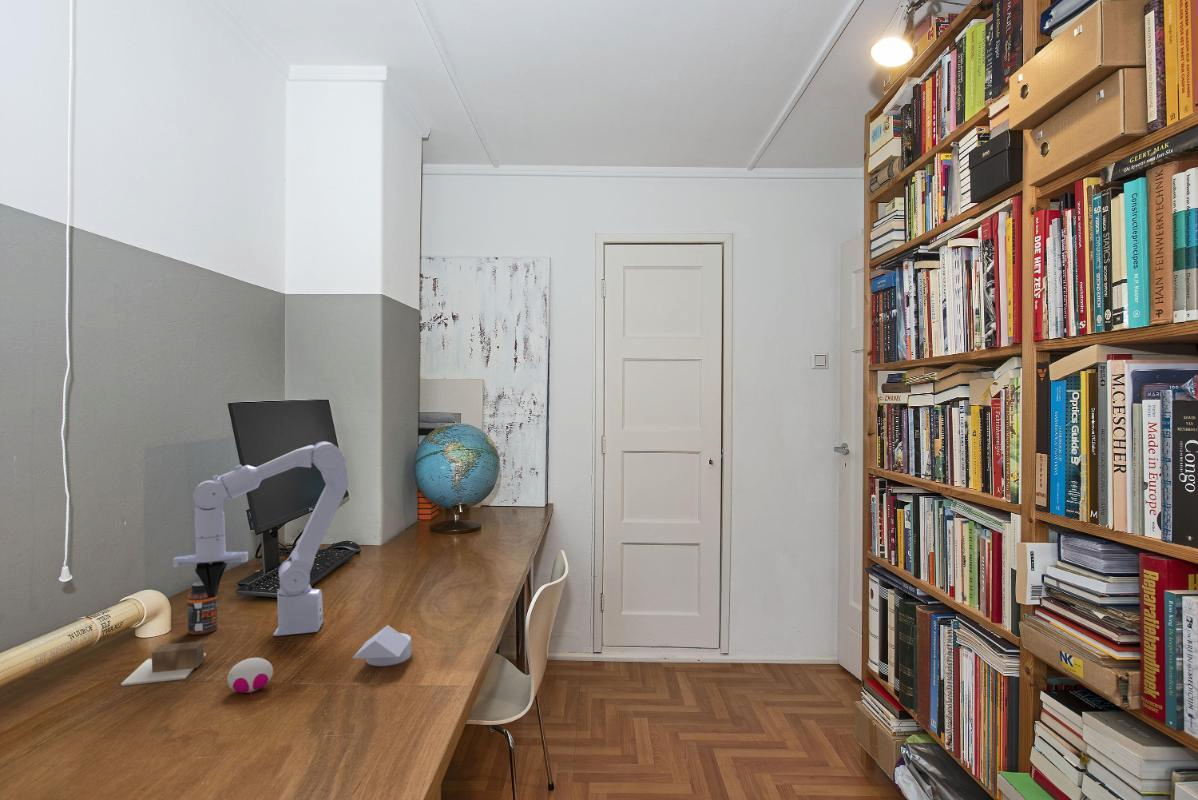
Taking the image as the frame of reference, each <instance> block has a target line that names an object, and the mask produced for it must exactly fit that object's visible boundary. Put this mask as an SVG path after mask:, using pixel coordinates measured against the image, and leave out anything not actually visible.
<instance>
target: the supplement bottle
mask: <svg viewBox="0 0 1198 800" xmlns="http://www.w3.org/2000/svg"><path fill="white" fill-rule="evenodd" d="M218 619H219V618H218V595H217V596H216V597H214V598H208V596H207V593H206V590H205V587H204V585H203V583H202V581H196V582H193V583H192V584H191V592H190V593H189V594H188V596H187V630H188V633H189V634H190V635H193V636H194V635H195V636H196V635H197V636H200V635H206V634H207V635H208V634H210V633H212V632H215V631H216V630H217V629H218V623H219V622H218Z"/></svg>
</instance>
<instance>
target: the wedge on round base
mask: <svg viewBox="0 0 1198 800" xmlns="http://www.w3.org/2000/svg"><path fill="white" fill-rule="evenodd" d="M411 656H412V638H411V635H408V634H407V633H403V632H399V631H397V630H396V629H394V628H393V627H392V626H390V625H389V624H387V625H386V626H385V627H383V628H382V629H381V630H379V631H377V633H376V634H374V635H373V636H372V637H371V638H369V639H368V640H367V641H365V642H364V644H363V645H362V646H361V647H360V649H359V650H358V651H357V652H356V653H355V654H354V656H352V659H365V663H367V664H368V665H370V666H376V667H385V666H392V665H398V664H401V663H403V662H405V661H407V660H408V659H409V658H411Z"/></svg>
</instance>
